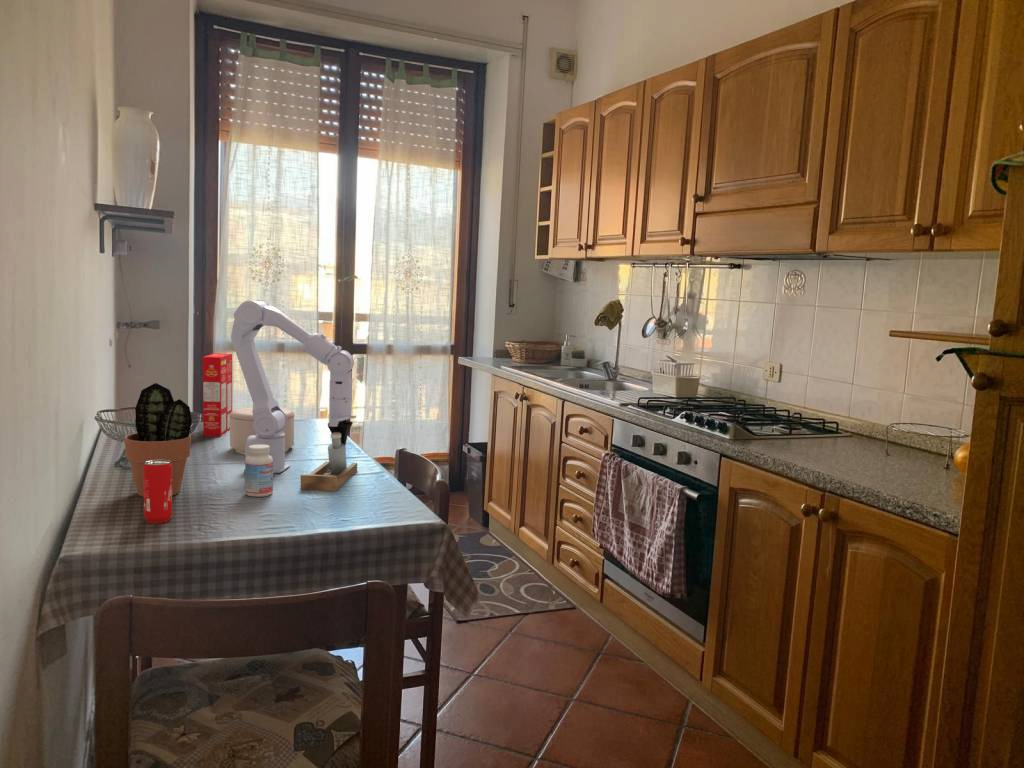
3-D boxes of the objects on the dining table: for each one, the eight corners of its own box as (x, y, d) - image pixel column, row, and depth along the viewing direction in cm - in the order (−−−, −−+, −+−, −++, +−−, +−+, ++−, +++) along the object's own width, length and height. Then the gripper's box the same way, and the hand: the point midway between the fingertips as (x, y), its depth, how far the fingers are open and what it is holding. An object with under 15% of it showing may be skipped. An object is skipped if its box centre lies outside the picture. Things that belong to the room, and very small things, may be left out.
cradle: (300, 489, 183) (300, 475, 183) (325, 469, 204) (325, 456, 204) (335, 491, 183) (335, 476, 182) (357, 471, 204) (357, 458, 203)
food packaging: (216, 428, 257) (215, 353, 254) (232, 428, 257) (232, 353, 254) (203, 436, 242) (202, 356, 239) (220, 436, 243) (220, 357, 240)
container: (302, 453, 224) (303, 413, 222) (239, 458, 213) (239, 416, 212) (283, 442, 238) (283, 404, 237) (222, 446, 228) (222, 407, 227)
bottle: (327, 474, 199) (324, 438, 195) (332, 465, 203) (329, 430, 199) (344, 475, 199) (342, 439, 194) (348, 466, 203) (346, 431, 198)
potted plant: (126, 503, 166) (124, 388, 163) (124, 487, 178) (123, 380, 175) (194, 497, 173) (193, 386, 170) (188, 483, 185) (187, 379, 182)
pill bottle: (264, 498, 174) (264, 449, 173) (239, 496, 175) (239, 447, 174) (277, 492, 180) (278, 444, 179) (253, 489, 181) (254, 442, 180)
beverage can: (149, 516, 158) (149, 458, 156) (176, 516, 158) (175, 459, 157) (139, 523, 152) (138, 464, 151) (166, 524, 153) (166, 464, 151)
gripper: (349, 402, 192) (348, 455, 194) (362, 395, 207) (361, 444, 208) (321, 401, 193) (320, 454, 194) (336, 393, 207) (335, 443, 209)
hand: (339, 449), depth 201 cm, fingers closed
